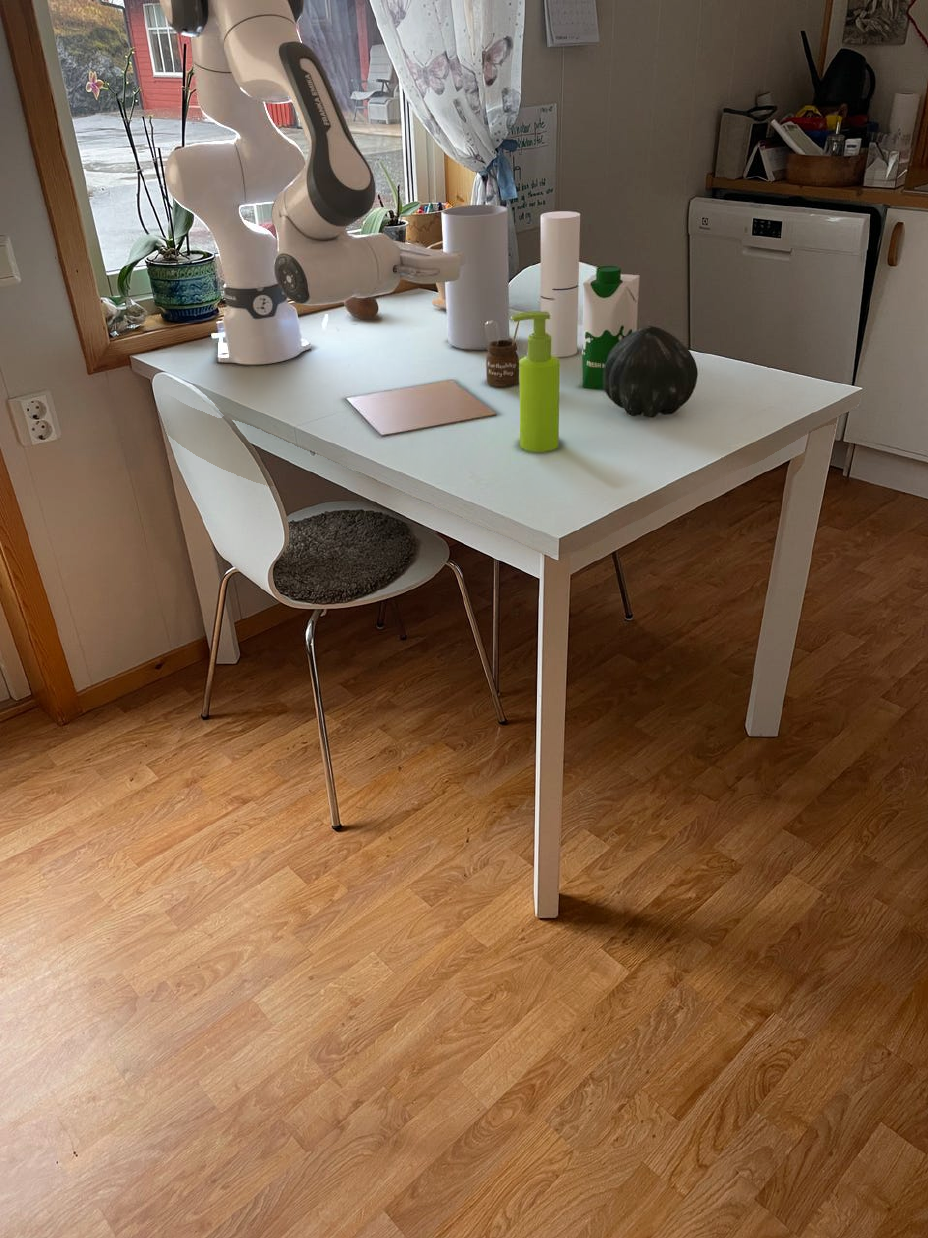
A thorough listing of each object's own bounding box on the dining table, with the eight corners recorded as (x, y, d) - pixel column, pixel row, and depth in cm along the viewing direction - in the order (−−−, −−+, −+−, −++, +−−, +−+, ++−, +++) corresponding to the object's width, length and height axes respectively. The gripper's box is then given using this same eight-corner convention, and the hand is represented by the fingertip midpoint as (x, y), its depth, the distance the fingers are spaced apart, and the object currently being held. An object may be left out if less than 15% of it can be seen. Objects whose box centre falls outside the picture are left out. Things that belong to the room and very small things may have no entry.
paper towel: (346, 399, 169) (346, 398, 169) (451, 380, 175) (451, 379, 175) (381, 436, 153) (381, 435, 153) (496, 414, 159) (496, 413, 159)
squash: (670, 354, 165) (627, 297, 155) (728, 381, 154) (685, 321, 144) (615, 419, 166) (569, 366, 156) (669, 450, 155) (622, 395, 145)
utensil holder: (488, 377, 176) (486, 310, 169) (522, 377, 175) (521, 310, 169) (484, 387, 171) (482, 319, 165) (519, 387, 170) (519, 319, 164)
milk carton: (576, 388, 169) (578, 270, 158) (592, 372, 175) (595, 258, 165) (624, 393, 165) (630, 273, 155) (639, 377, 172) (645, 261, 161)
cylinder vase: (520, 337, 196) (519, 206, 183) (489, 354, 188) (485, 217, 174) (469, 330, 202) (464, 203, 189) (436, 346, 194) (428, 213, 180)
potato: (360, 323, 210) (357, 291, 207) (336, 315, 218) (332, 283, 214) (387, 317, 214) (384, 285, 210) (362, 309, 221) (359, 277, 217)
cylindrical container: (575, 357, 184) (578, 217, 170) (538, 356, 185) (538, 218, 172) (578, 346, 190) (582, 210, 176) (542, 345, 191) (543, 211, 178)
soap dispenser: (511, 439, 150) (509, 309, 139) (555, 436, 150) (556, 306, 139) (516, 453, 145) (514, 319, 134) (561, 450, 145) (563, 316, 134)
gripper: (419, 253, 138) (487, 242, 147) (333, 233, 151) (400, 224, 159) (420, 298, 142) (486, 285, 150) (335, 274, 154) (401, 263, 162)
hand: (441, 253), depth 155 cm, fingers open, 8 cm apart
